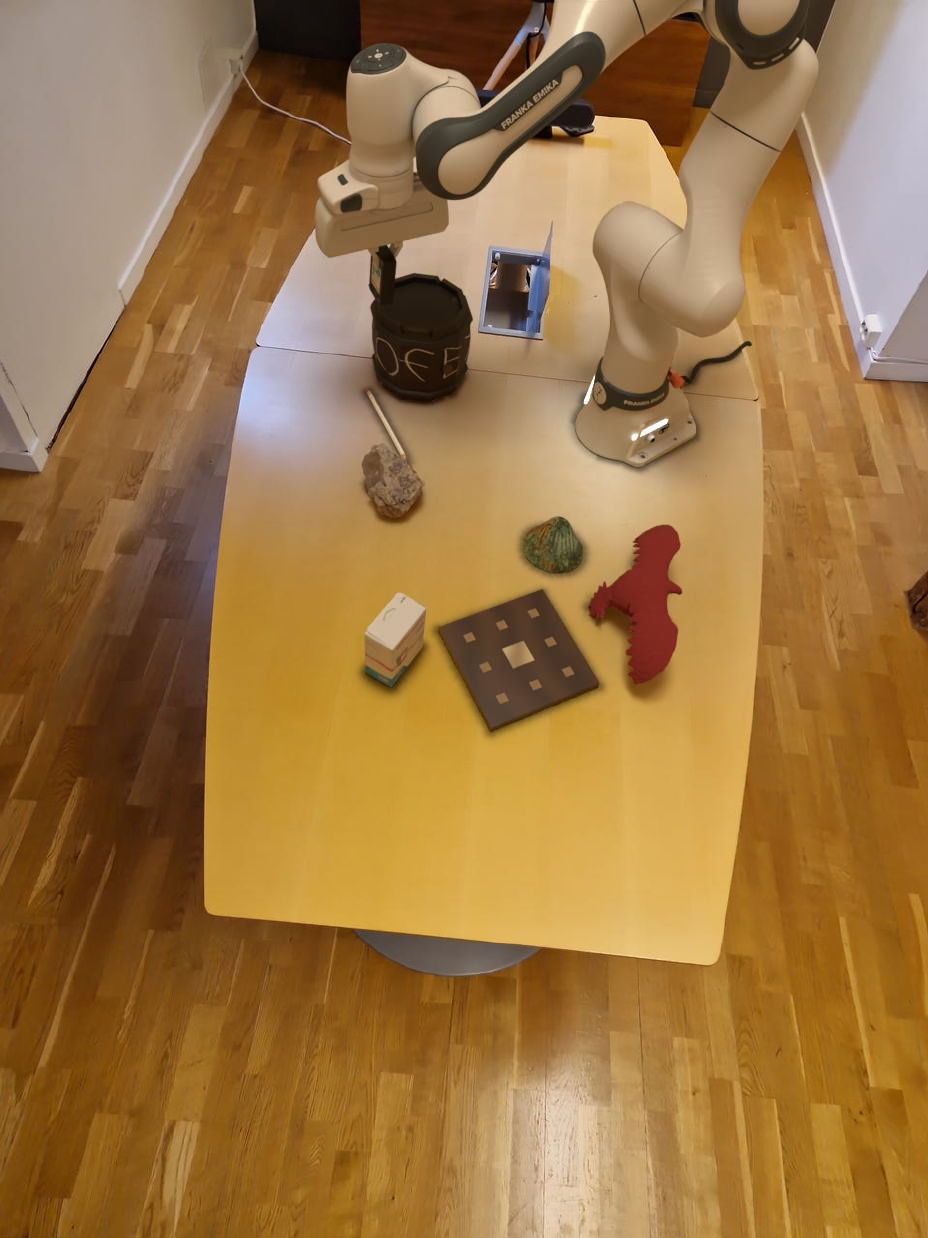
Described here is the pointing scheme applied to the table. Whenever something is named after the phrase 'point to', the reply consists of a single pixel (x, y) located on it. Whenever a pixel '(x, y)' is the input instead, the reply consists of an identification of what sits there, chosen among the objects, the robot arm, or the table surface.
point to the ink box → (394, 639)
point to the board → (517, 659)
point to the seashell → (553, 546)
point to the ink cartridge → (383, 276)
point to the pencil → (385, 423)
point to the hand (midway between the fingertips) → (384, 266)
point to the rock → (391, 481)
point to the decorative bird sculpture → (645, 602)
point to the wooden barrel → (421, 338)
